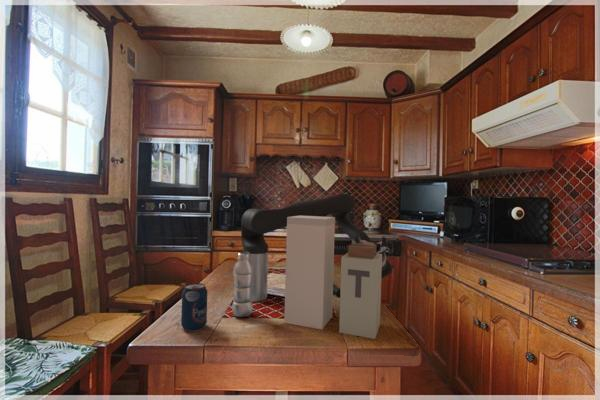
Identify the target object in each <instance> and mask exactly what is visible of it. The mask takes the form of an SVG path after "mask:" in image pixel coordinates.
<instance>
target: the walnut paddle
mask: <svg viewBox="0 0 600 400" xmlns="http://www.w3.org/2000/svg"><path fill="white" fill-rule="evenodd" d="M347 253H348V257H358V258H369V259H373V258H374V257H375V256H376V245H374V243H368V242H365V243H364V244H359V243H352V242H351V244H349V245H348V247H347Z"/></svg>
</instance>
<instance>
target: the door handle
mask: <svg viewBox="0 0 600 400" xmlns="http://www.w3.org/2000/svg"><path fill="white" fill-rule="evenodd" d="M340 290H341V287H339V286H337V285H336V284H335V283H334V282H333V295H335V296H336V297H339V298H340Z"/></svg>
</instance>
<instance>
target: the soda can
mask: <svg viewBox="0 0 600 400" xmlns="http://www.w3.org/2000/svg"><path fill="white" fill-rule="evenodd" d="M183 287H184V288H183V290H182V292H181V322H180V324H181V325H180V326H181V327H182V328H183V330H184V331H185V332H189V333H190V332H192V333H193V332H199V331H201V330H202V329H204V328H205V327H206V325H207V322H208V320H207V319H208V289H207V287H206V284H204V283H200V282H193V283H188V284H185V285H184V286H183Z"/></svg>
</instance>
